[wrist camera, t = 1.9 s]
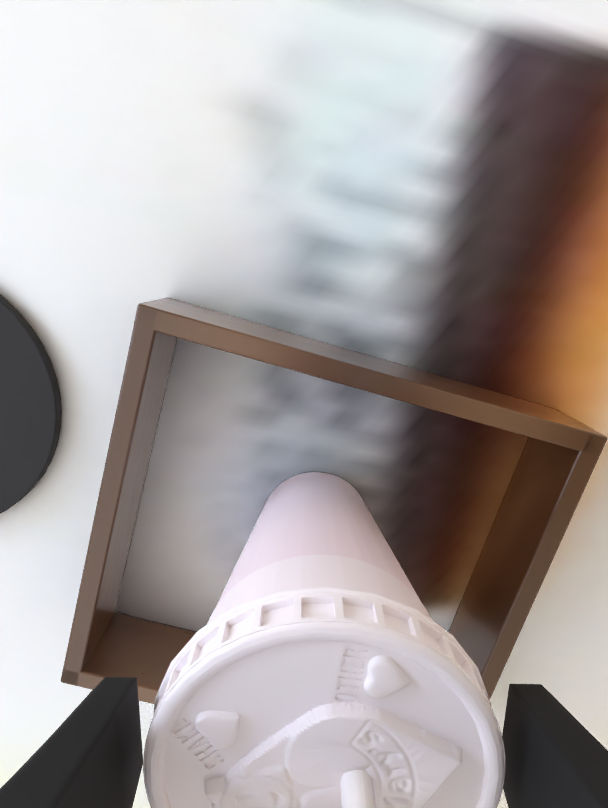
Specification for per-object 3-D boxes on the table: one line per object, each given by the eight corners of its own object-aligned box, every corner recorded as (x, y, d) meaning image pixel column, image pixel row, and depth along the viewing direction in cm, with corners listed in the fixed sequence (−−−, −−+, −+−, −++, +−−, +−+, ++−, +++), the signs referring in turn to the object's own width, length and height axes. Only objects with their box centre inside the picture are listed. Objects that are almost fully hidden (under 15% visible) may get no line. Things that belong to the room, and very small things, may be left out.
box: (558, 409, 17) (608, 437, 15) (434, 703, 20) (456, 776, 17) (167, 297, 17) (137, 303, 14) (96, 621, 19) (59, 682, 17)
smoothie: (422, 581, 19) (712, 1357, 5) (250, 618, 19) (122, 1427, 6) (385, 414, 17) (662, 918, 4) (200, 458, 18) (-133, 1054, 4)
